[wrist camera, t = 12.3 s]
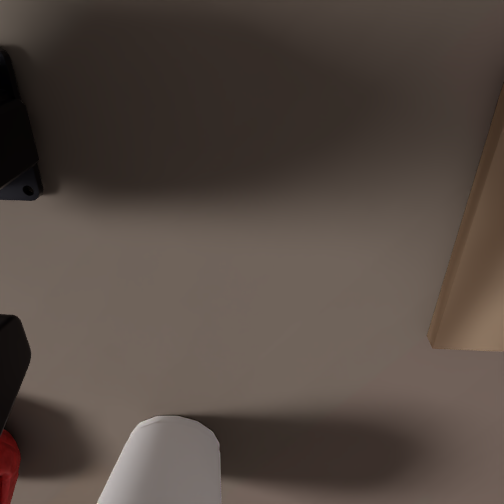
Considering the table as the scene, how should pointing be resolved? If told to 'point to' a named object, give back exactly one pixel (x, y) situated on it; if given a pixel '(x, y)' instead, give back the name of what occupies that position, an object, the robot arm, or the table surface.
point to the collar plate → (477, 259)
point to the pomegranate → (8, 466)
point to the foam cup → (167, 465)
